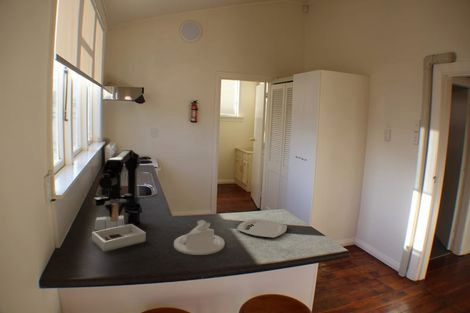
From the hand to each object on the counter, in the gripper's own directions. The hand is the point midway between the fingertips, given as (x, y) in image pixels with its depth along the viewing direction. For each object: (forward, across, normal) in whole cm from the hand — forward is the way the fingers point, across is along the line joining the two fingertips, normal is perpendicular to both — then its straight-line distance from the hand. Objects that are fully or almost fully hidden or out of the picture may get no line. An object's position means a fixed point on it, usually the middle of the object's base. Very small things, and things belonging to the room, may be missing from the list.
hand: (114, 216), depth 146 cm
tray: (+12, -2, +1) cm, 13 cm away
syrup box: (+9, +2, -23) cm, 25 cm away
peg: (+2, 0, 0) cm, 2 cm away
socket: (+13, 0, +1) cm, 13 cm away
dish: (+13, -31, +27) cm, 44 cm away
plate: (+13, -71, +33) cm, 80 cm away
